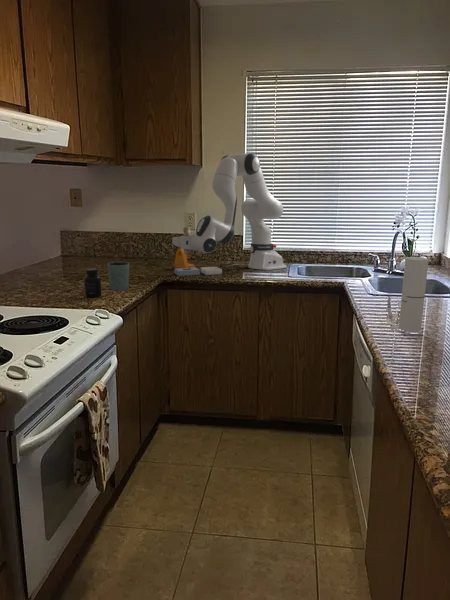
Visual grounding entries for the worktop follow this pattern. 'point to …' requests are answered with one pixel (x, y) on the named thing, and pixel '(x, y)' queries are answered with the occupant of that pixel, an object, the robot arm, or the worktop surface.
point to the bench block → (186, 271)
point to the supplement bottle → (92, 283)
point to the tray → (211, 270)
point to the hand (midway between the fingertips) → (186, 238)
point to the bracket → (182, 260)
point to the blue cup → (118, 275)
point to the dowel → (186, 232)
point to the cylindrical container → (413, 294)
